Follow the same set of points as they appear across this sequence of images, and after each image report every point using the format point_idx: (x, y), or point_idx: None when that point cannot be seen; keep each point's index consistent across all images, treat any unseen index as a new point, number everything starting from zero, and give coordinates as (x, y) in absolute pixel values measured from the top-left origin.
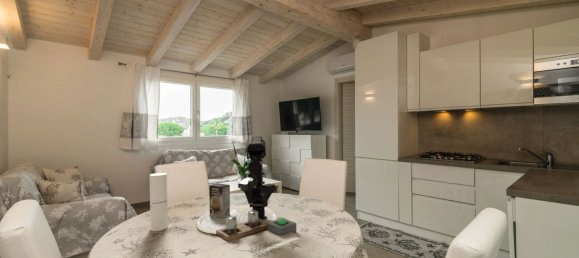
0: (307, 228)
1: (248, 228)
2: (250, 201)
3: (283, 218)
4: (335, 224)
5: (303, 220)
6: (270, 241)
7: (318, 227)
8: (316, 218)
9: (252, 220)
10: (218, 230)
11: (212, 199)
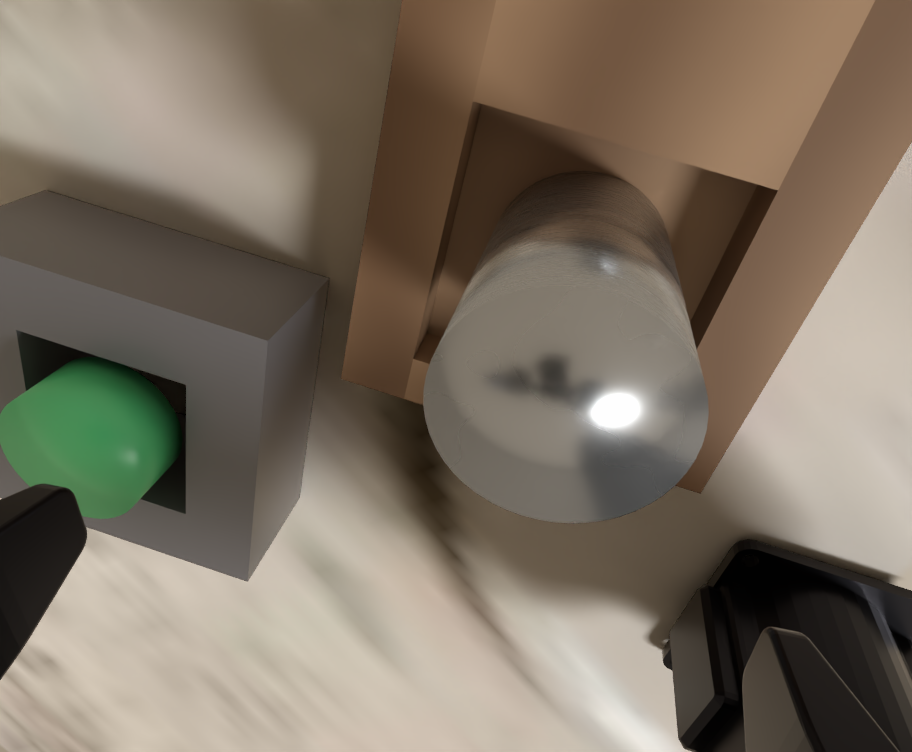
0: None
1: (506, 43)
2: (759, 747)
3: (90, 505)
4: None
5: (260, 681)
6: (41, 10)
7: None
8: (208, 736)
9: (507, 239)
10: None
11: None
